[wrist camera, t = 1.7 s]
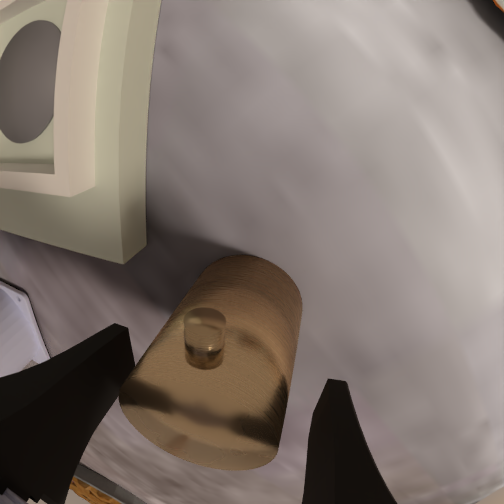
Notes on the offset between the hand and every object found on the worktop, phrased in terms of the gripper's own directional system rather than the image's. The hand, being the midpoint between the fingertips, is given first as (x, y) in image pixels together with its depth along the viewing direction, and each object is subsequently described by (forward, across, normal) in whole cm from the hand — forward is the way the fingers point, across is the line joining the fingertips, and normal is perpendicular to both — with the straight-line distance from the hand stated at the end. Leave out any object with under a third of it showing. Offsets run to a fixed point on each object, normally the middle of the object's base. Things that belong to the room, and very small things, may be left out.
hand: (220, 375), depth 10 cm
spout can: (+4, 0, 0) cm, 4 cm away
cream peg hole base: (+4, +13, -10) cm, 17 cm away
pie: (+5, +22, +52) cm, 57 cm away
